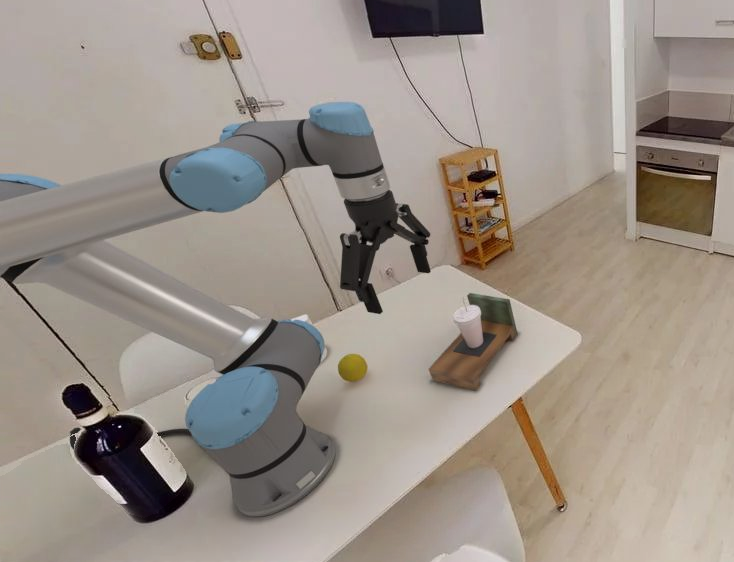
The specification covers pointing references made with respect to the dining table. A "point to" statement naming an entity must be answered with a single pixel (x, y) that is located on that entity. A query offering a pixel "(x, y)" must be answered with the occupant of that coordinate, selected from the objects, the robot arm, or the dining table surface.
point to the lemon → (352, 367)
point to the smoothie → (469, 324)
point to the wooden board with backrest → (468, 363)
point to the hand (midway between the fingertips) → (401, 290)
